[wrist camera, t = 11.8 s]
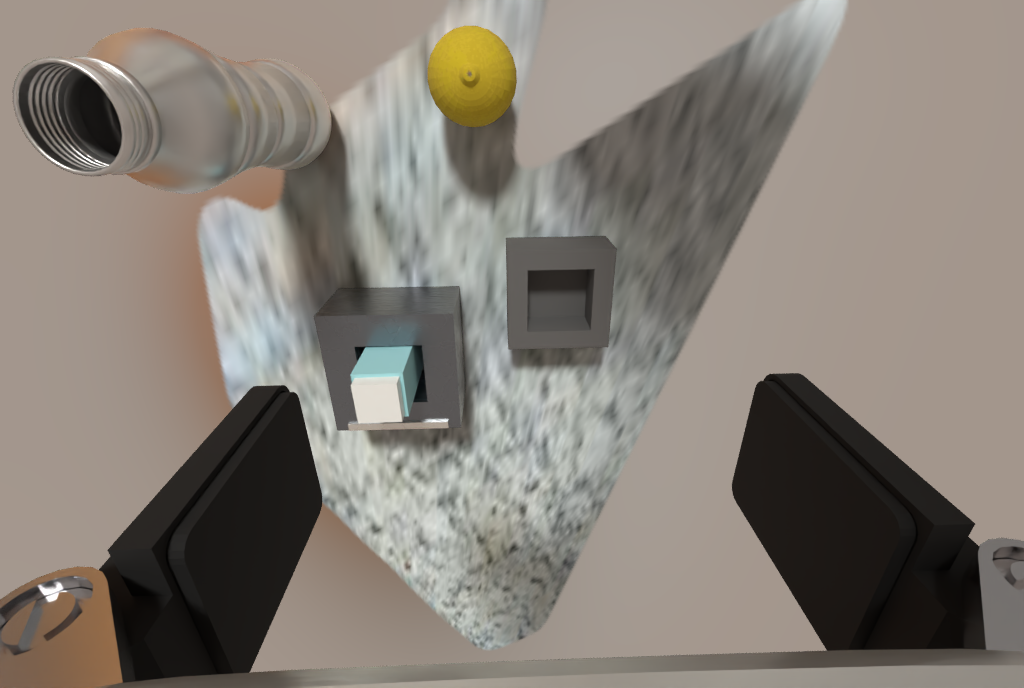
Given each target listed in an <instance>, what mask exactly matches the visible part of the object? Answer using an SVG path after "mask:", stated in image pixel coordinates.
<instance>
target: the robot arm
mask: <svg viewBox="0 0 1024 688" xmlns="http://www.w3.org/2000/svg"><path fill="white" fill-rule="evenodd" d="M732 491H733V496H734V499H735V500H736V503H737V504H738V506H739V507H740V509H741V511H742V512H743V514H744V516H745V517H746V519H747V520H748V522H749V524H750V525H751V527H752V528H753V530H754V532H755V533H756V535H757V537H758V538H759V540H760V541H761V543H762V545H763V547H764V548H765V550H766V552H767V553H768V555H769V556H770V558H771V559H772V561H773V563H774V564H775V566H776V568H777V569H778V571H779V573H780V574H781V576H782V578H783V579H784V581H785V582H786V584H787V586H788V587H789V589H790V591H791V592H792V594H793V596H794V597H795V599H796V600H797V602H798V604H799V605H800V607H801V609H802V610H803V612H804V613H805V615H806V617H807V618H808V620H809V622H810V623H811V625H812V626H813V628H814V630H815V632H816V633H817V635H818V636H819V638H820V640H821V641H822V643H823V645H824V646H825V648H826V649H827V651H804V652H770V653H737V654H705V655H704V654H703V655H675V656H674V655H671V656H642V657H616V658H615V657H614V658H586V659H585V658H584V659H561V660H560V659H558V660H531V661H530V660H529V661H502V662H475V663H451V664H426V665H403V666H378V667H353V668H330V669H305V670H287V671H286V670H285V671H268V672H253V673H249V672H250V670H251V668H252V666H253V663H254V661H255V659H256V657H257V654H258V652H259V650H260V648H261V645H262V643H263V641H264V638H265V636H266V634H267V631H268V630H269V627H270V625H271V623H272V620H273V618H274V616H275V614H276V611H277V609H278V607H279V604H280V602H281V600H282V598H283V595H284V593H285V591H286V589H287V586H288V584H289V582H290V580H291V577H292V575H293V572H294V571H295V568H296V566H297V564H298V561H299V559H300V557H301V554H302V552H303V550H304V548H305V546H306V543H307V541H308V539H309V537H310V534H311V532H312V529H313V527H314V525H315V523H316V520H317V518H318V516H319V514H320V511H321V507H322V493H321V489H320V484H319V480H318V476H317V472H316V468H315V464H314V459H313V455H312V451H311V447H310V443H309V439H308V434H307V430H306V426H305V422H304V418H303V414H302V409H301V405H300V401H299V398H298V395H297V394H296V393H294V392H290V391H289V389H288V388H287V387H286V386H284V385H281V386H254V387H253V388H251V389H250V390H249V391H248V392H247V394H246V395H245V396H244V397H243V398H242V399H241V400H240V401H239V403H238V404H237V405H236V406H235V407H234V408H233V409H232V410H231V412H230V413H229V414H228V415H227V416H226V417H225V418H224V420H223V421H222V422H221V423H220V424H219V425H218V426H217V427H216V428H215V430H214V431H213V432H212V433H211V434H210V435H209V436H208V438H207V439H206V440H205V441H204V442H203V443H202V444H201V445H200V447H199V448H198V449H197V450H196V451H195V452H194V453H193V454H192V456H191V457H190V458H189V459H188V460H187V461H186V462H185V464H184V465H183V466H182V467H181V468H180V469H179V470H178V471H177V472H176V474H175V475H174V476H173V477H172V478H171V479H170V480H169V481H168V483H167V484H166V485H165V486H164V487H163V488H162V489H161V490H160V492H159V493H158V494H157V495H156V496H155V497H154V498H153V500H152V501H151V502H150V503H149V504H148V505H147V506H146V507H145V508H144V510H143V511H142V512H141V513H140V514H139V515H138V516H137V517H136V519H135V520H134V521H133V522H132V523H131V524H130V525H129V527H128V528H127V529H126V530H125V531H124V532H123V533H122V534H121V536H120V537H119V538H118V539H117V540H116V541H115V542H114V543H113V545H112V546H111V547H110V548H109V549H108V552H109V554H110V558H109V559H108V560H107V561H106V562H105V563H104V565H103V566H102V567H101V568H100V569H99V570H97V569H95V568H93V567H73V568H67V569H62V570H57V571H55V572H52V573H49V574H46V575H44V576H41V577H38V578H36V579H34V580H32V581H30V582H28V583H26V584H24V585H22V586H21V587H19V588H17V589H15V590H14V591H12V592H10V593H9V594H8V595H6V596H5V597H3V598H2V599H0V688H1024V541H1021V540H1014V539H1007V538H996V539H988V540H987V541H985V542H984V543H982V544H980V546H978V545H977V544H976V543H975V542H974V541H972V540H971V539H970V538H969V537H968V536H969V534H970V532H971V530H972V528H973V527H974V525H975V523H974V522H972V521H971V520H970V519H969V518H968V517H967V516H966V515H964V514H963V513H962V512H961V511H960V510H959V509H957V508H956V507H955V506H954V505H953V504H952V503H950V502H949V501H948V500H947V499H946V498H944V496H942V495H941V494H940V493H939V492H938V491H937V490H935V489H934V488H933V487H932V486H931V485H930V484H928V483H927V482H926V481H925V480H923V478H921V477H920V476H919V475H918V474H917V473H916V472H915V471H913V470H912V469H911V468H909V466H908V465H906V464H905V463H904V462H903V461H902V460H901V459H899V458H898V457H897V456H896V455H895V454H894V453H892V452H891V451H890V450H889V449H888V448H887V447H886V446H884V445H883V444H882V443H881V442H880V441H878V440H877V439H876V438H875V437H874V436H873V435H871V434H870V433H869V432H868V431H867V430H866V429H865V428H864V427H862V426H861V425H860V424H859V423H858V422H857V421H855V420H854V419H853V418H852V417H851V416H850V415H848V414H847V413H846V412H845V411H844V410H843V409H841V408H840V407H839V406H838V405H837V404H836V403H835V402H833V401H832V400H831V399H830V398H829V397H827V396H826V395H825V394H824V393H823V392H822V391H821V390H819V389H818V388H817V387H816V386H815V385H814V384H813V383H811V382H810V381H809V380H808V379H807V378H805V377H804V376H803V375H801V374H798V373H795V374H794V373H790V374H769V375H767V376H766V378H765V379H764V381H760V382H759V383H758V384H757V385H756V388H755V392H754V395H753V400H752V404H751V408H750V412H749V416H748V420H747V424H746V428H745V432H744V437H743V441H742V445H741V449H740V453H739V457H738V461H737V465H736V469H735V473H734V477H733V482H732Z"/></svg>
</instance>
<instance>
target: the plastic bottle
mask: <svg viewBox="0 0 1024 688" xmlns="http://www.w3.org/2000/svg"><path fill="white" fill-rule="evenodd" d="M13 105H14V110H15V114H16V117H17V120H18V122H19V125H20V127H21V129H22V130H23V132H24V134H25V136H26V137H27V138H28V140H29V141H30V142H31V144H32V145H33V146H34V148H36V149H37V151H38V152H39V153H41V155H42V156H44V157H45V158H46V159H47V160H49V161H50V162H51V163H53V164H54V165H56V166H58V167H60V168H61V169H63V170H66V171H68V172H71V173H73V174H78V175H84V176H101V175H107V174H112V175H123V174H127V175H128V176H130V177H131V178H133V179H135V180H137V181H138V182H140V183H143V184H145V185H148V186H150V187H153V188H157V189H161V190H165V191H170V192H175V193H198V192H202V191H206V190H208V189H211V188H214V187H216V186H218V185H220V184H222V183H224V182H226V181H227V180H229V179H231V178H232V177H234V176H236V175H237V174H239V173H241V172H242V171H245V170H248V169H251V168H254V167H268V168H273V169H282V170H293V169H298V168H302V167H304V166H306V165H308V164H310V163H311V162H312V161H313V160H315V159H316V158H317V157H318V156H319V155H320V154H321V153H322V151H323V150H324V149H325V147H326V145H327V143H328V141H329V138H330V134H331V123H332V121H331V113H330V109H329V106H328V102H327V100H326V98H325V96H324V94H323V92H322V91H321V89H320V88H319V86H318V85H317V84H316V83H315V82H314V81H313V80H312V79H311V78H310V77H309V76H308V75H307V74H305V73H304V72H303V71H302V70H300V69H299V68H297V67H296V66H295V65H292V64H290V63H288V62H286V61H282V60H278V59H255V60H251V61H247V62H235V61H231V60H229V59H226V58H223V57H220V56H218V55H216V54H214V53H212V52H210V51H209V50H207V49H205V48H203V47H201V46H199V45H197V44H196V43H194V42H191V41H189V40H187V39H185V38H183V37H180V36H178V35H175V34H172V33H170V32H167V31H163V30H158V29H154V28H133V29H129V30H125V31H121V32H118V33H115V34H111V35H109V36H107V37H105V38H104V39H102V40H100V41H98V43H96V44H95V46H94V47H93V48H92V49H91V50H90V51H89V52H88V54H87V56H85V57H84V56H82V57H81V56H75V57H71V58H64V57H46V58H41V59H37V60H34V61H32V62H30V63H28V64H27V65H25V66H24V68H22V70H21V71H20V72H19V73H18V75H17V77H16V79H15V83H14V87H13Z"/></svg>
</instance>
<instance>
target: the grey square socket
mask: <svg viewBox="0 0 1024 688" xmlns="http://www.w3.org/2000/svg"><path fill="white" fill-rule="evenodd" d="M616 250H617V249H616V248H615V247H614V245H613V244H612V243H611V242H610V241H609V240H608V238H607V237H606V236H584V237H527V238H506V261H507V322H508V347H509V349H548V348H593V347H608V344H609V332H610V320H611V308H612V297H613V285H614V273H615V261H616Z"/></svg>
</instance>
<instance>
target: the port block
mask: <svg viewBox="0 0 1024 688" xmlns="http://www.w3.org/2000/svg"><path fill="white" fill-rule="evenodd" d="M314 319H315V324H316V328H317V333H318V338H319V343H320V348H321V353H322V358H323V362H324V367H325V372H326V377H327V382H328V387H329V392H330V396H331V401H332V406H333V411H334V416H335V421H336V426H337V430H349V431H353V430H392V429H431V428H453V427H461V424H462V415H463V406H464V397H465V374H464V358H463V341H462V325H461V309H460V293H459V286H450V287H399V288H348V289H338V290H337V291H336V292H335V293H334V295H333V296H332V297H331V298H330V299H329V300H328V301H327V302H326V303H325V305H324V306H323V307H322V308H321V309H320V310H319V311H318V312H317V314H316V315H315V316H314ZM411 345H422V352H423V362H424V366H423V369H422V373H421V376H420V379H419V383H418V386H417V390H416V393H415V397H414V400H413V404H412V407H411V411H410V414H409V416H406V417H404V418H403V421H402V422H384V423H358V420H357V415H356V410H355V405H354V400H353V395H352V390H351V384H352V381H351V376H350V374H351V373H352V371H353V369H354V367H355V365H356V364H357V362H358V360H359V358H360V357H361V355H362V353H363V351H364V349H365V348H366V346H411Z"/></svg>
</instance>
